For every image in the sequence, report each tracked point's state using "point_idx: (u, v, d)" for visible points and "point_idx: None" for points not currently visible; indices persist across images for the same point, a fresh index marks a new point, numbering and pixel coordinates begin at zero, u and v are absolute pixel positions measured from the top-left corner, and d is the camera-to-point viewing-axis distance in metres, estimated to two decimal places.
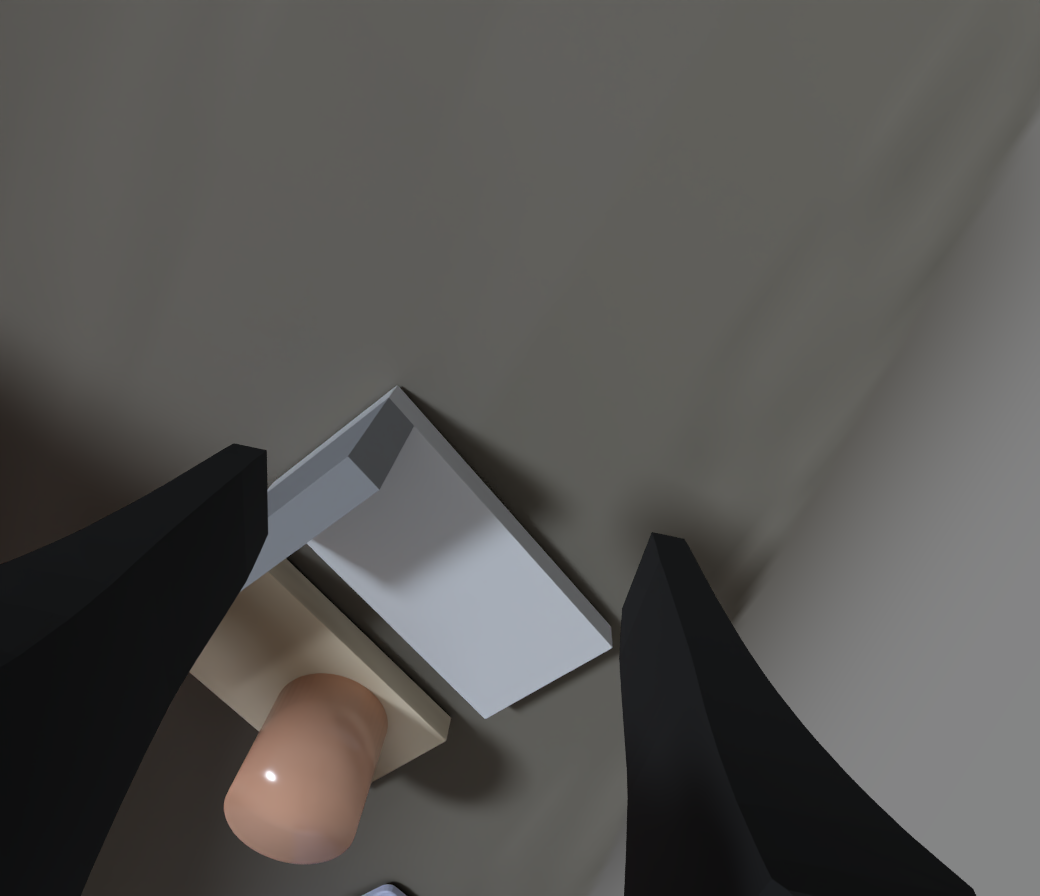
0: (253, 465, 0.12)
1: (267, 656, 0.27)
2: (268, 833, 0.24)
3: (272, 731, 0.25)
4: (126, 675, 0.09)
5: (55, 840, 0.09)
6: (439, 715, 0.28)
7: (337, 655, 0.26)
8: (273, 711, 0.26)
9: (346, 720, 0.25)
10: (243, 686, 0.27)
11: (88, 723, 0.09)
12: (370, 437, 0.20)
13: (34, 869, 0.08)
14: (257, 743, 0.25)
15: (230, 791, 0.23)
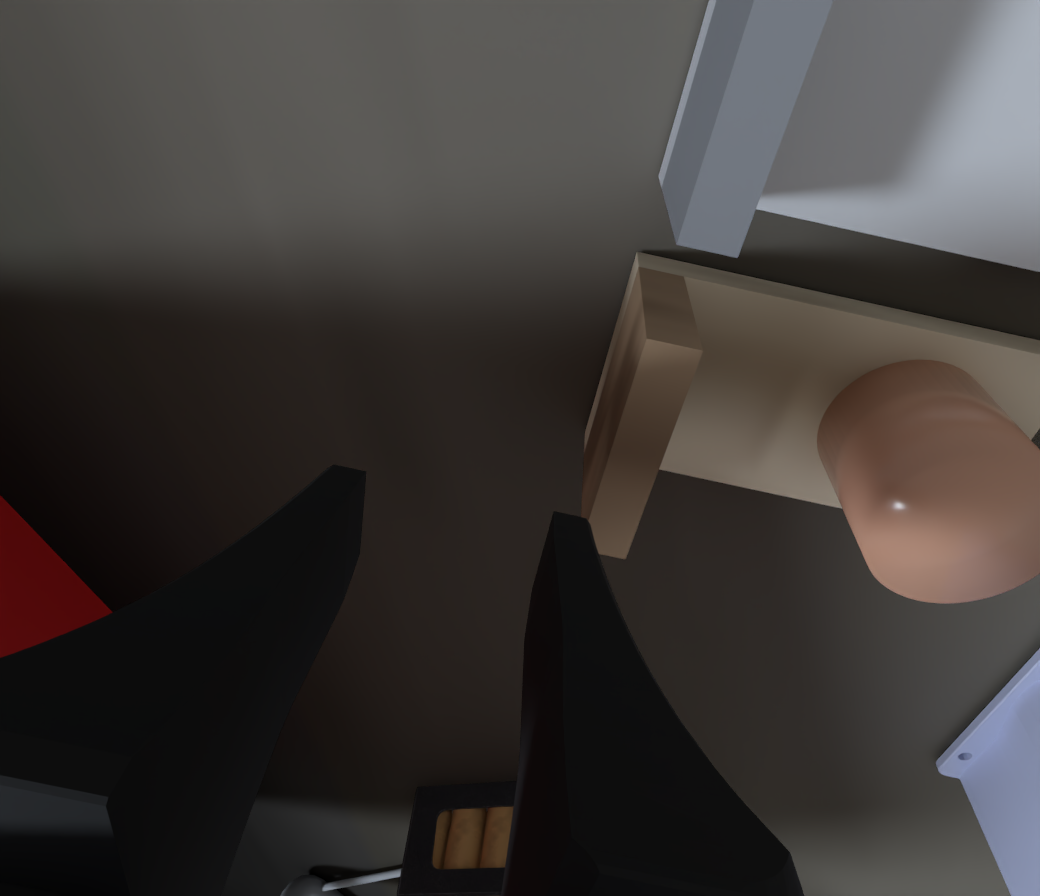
0: (357, 486, 0.12)
1: (778, 399, 0.20)
2: (943, 570, 0.17)
3: (860, 455, 0.18)
4: (258, 702, 0.09)
5: (202, 869, 0.09)
6: None
7: (867, 339, 0.19)
8: (834, 447, 0.19)
9: (945, 393, 0.17)
10: (769, 457, 0.21)
11: (232, 752, 0.09)
12: None
13: None
14: (851, 479, 0.18)
15: (866, 539, 0.17)
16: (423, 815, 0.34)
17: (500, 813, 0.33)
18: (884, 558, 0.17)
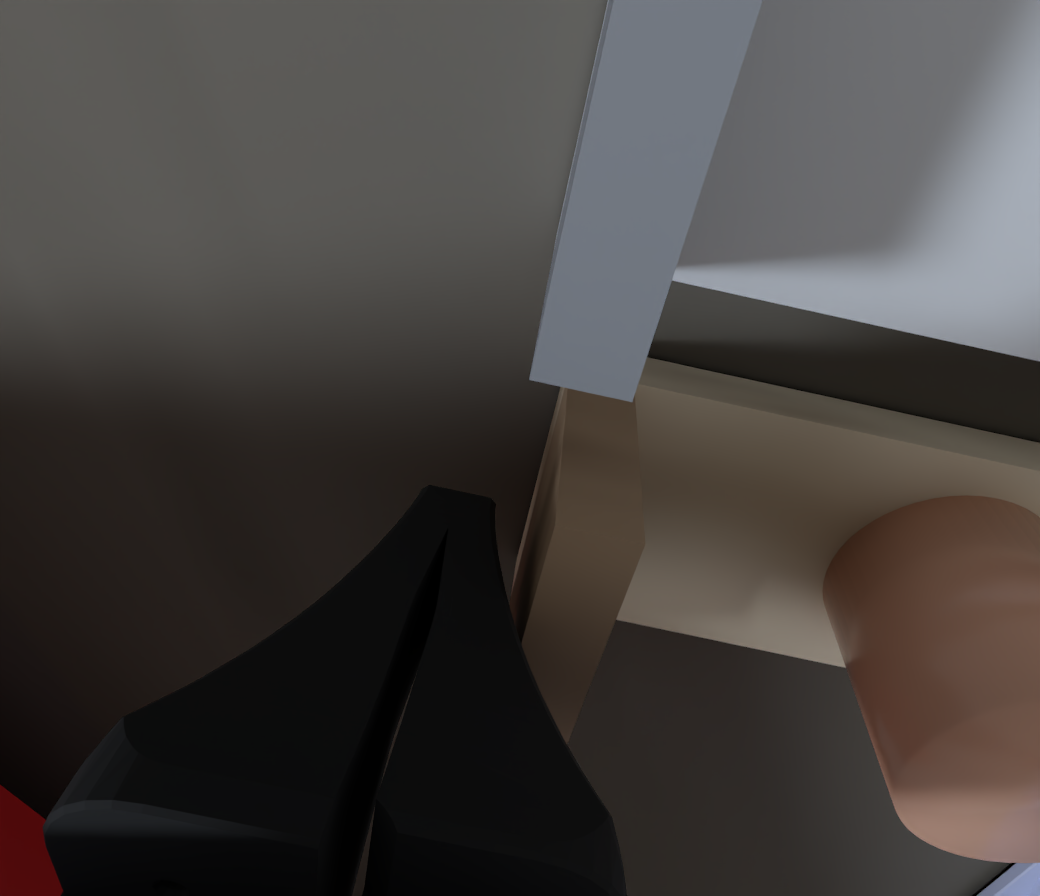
0: (457, 507, 0.12)
1: (770, 540, 0.14)
2: (1010, 827, 0.12)
3: (887, 648, 0.12)
4: (385, 728, 0.10)
5: None
6: None
7: (895, 468, 0.13)
8: (848, 617, 0.14)
9: (1012, 562, 0.12)
10: (758, 608, 0.16)
11: (369, 781, 0.09)
12: None
13: None
14: (874, 681, 0.12)
15: (898, 787, 0.11)
16: None
17: None
18: (924, 809, 0.12)
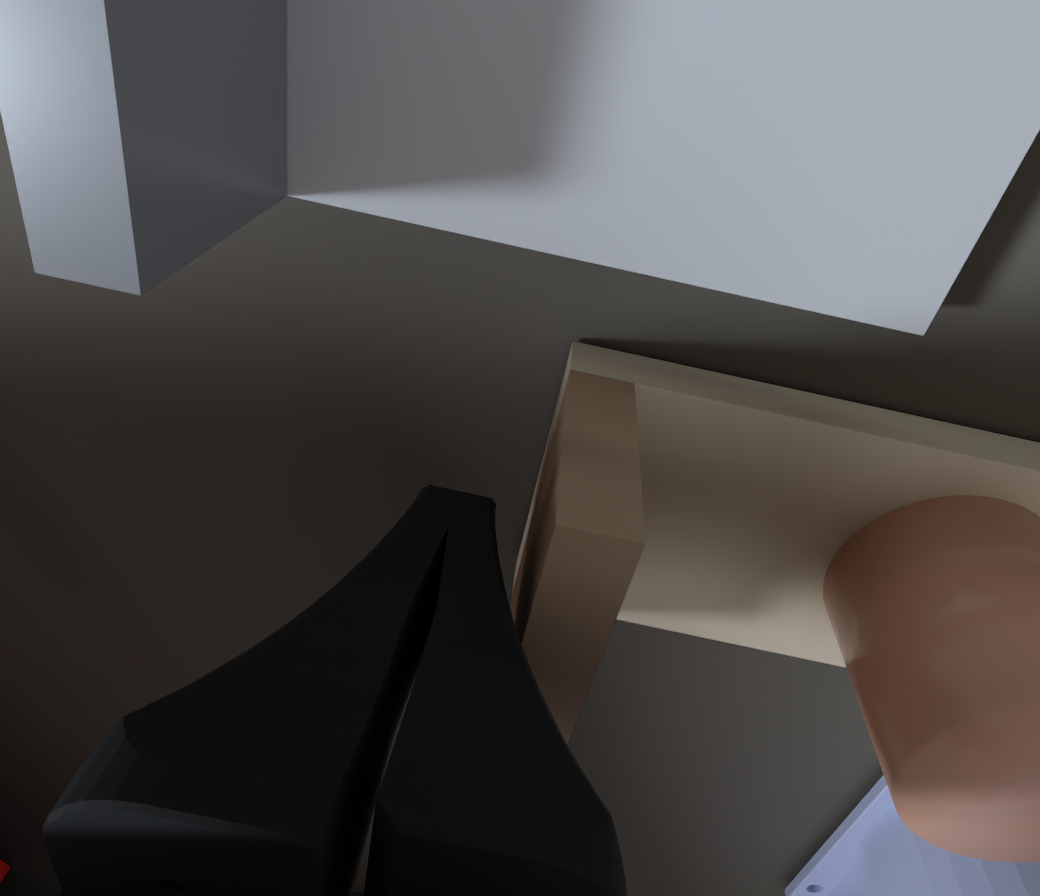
0: (457, 507, 0.12)
1: (770, 540, 0.14)
2: (1011, 826, 0.12)
3: (887, 648, 0.12)
4: (385, 728, 0.10)
5: None
6: None
7: (895, 468, 0.13)
8: (848, 617, 0.14)
9: (1012, 562, 0.12)
10: (758, 608, 0.16)
11: (369, 780, 0.09)
12: None
13: None
14: (874, 681, 0.12)
15: (898, 786, 0.11)
16: None
17: None
18: (924, 809, 0.12)
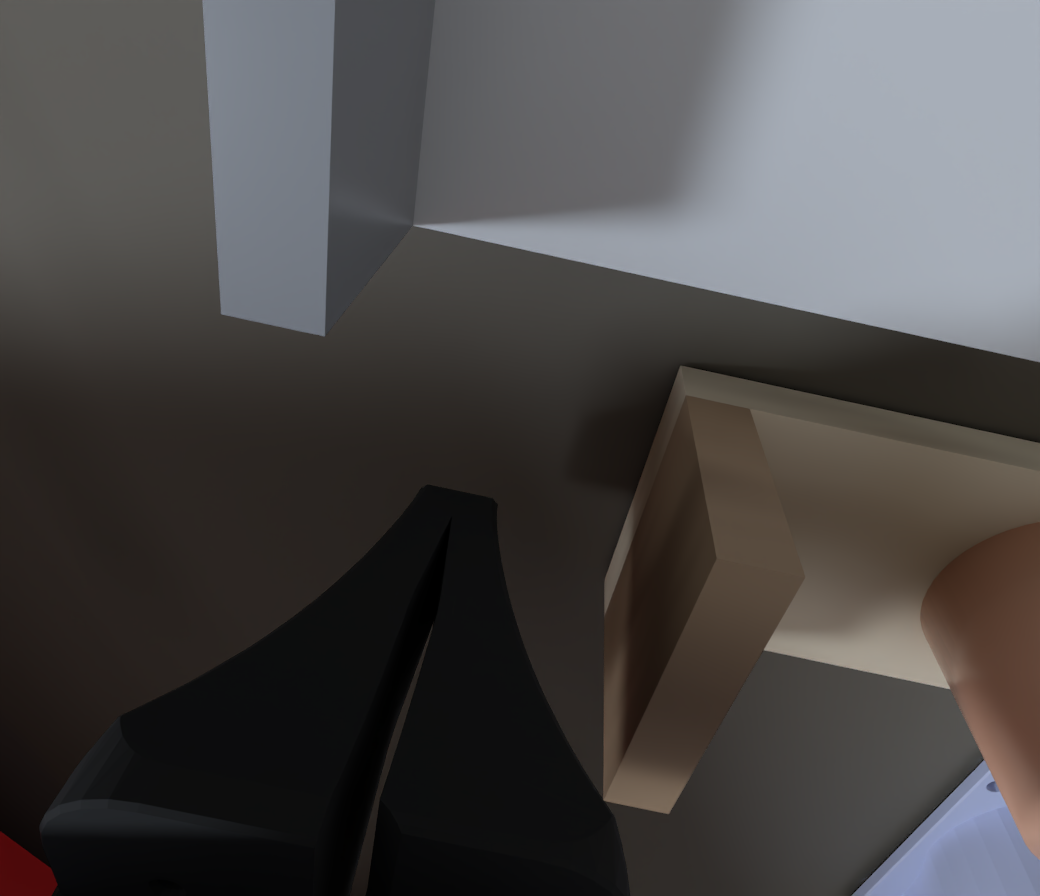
0: (455, 507, 0.12)
1: (872, 561, 0.15)
2: None
3: (1008, 672, 0.12)
4: (382, 727, 0.10)
5: None
6: None
7: (1005, 492, 0.13)
8: (957, 640, 0.14)
9: None
10: (853, 627, 0.16)
11: (366, 780, 0.09)
12: None
13: None
14: (994, 705, 0.12)
15: (1028, 812, 0.11)
16: None
17: None
18: None
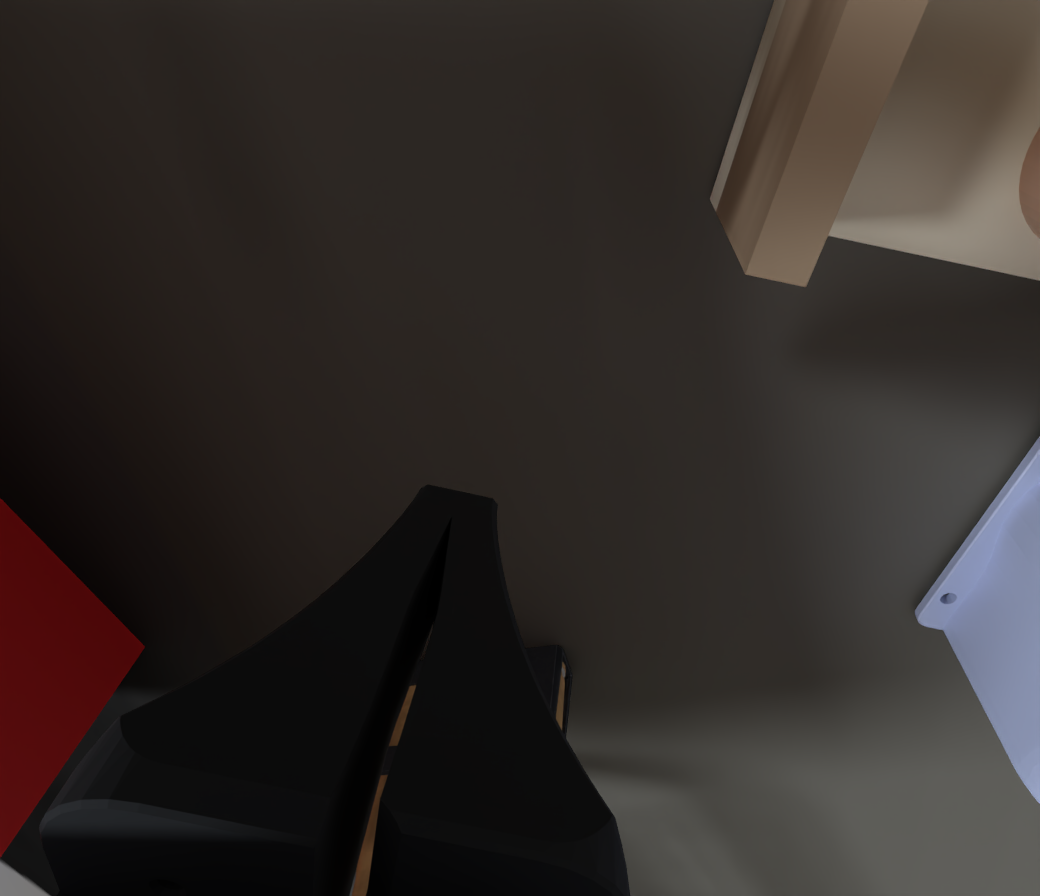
0: (455, 507, 0.12)
1: (978, 114, 0.16)
2: None
3: None
4: (382, 728, 0.10)
5: None
6: None
7: None
8: None
9: None
10: (954, 206, 0.17)
11: (366, 780, 0.09)
12: None
13: None
14: None
15: None
16: None
17: None
18: None
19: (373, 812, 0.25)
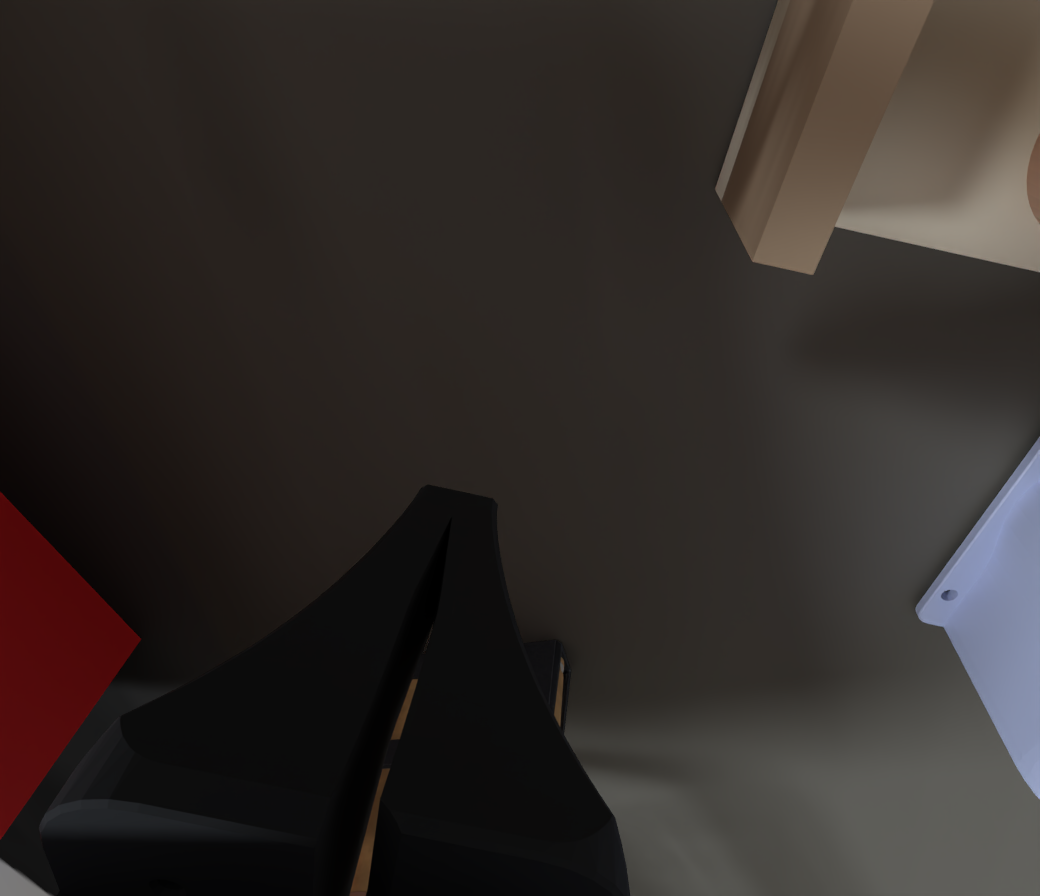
0: (455, 507, 0.12)
1: (987, 105, 0.15)
2: None
3: None
4: (382, 728, 0.10)
5: None
6: None
7: None
8: None
9: None
10: (961, 197, 0.17)
11: (366, 780, 0.09)
12: None
13: None
14: None
15: None
16: None
17: (412, 685, 0.28)
18: None
19: None
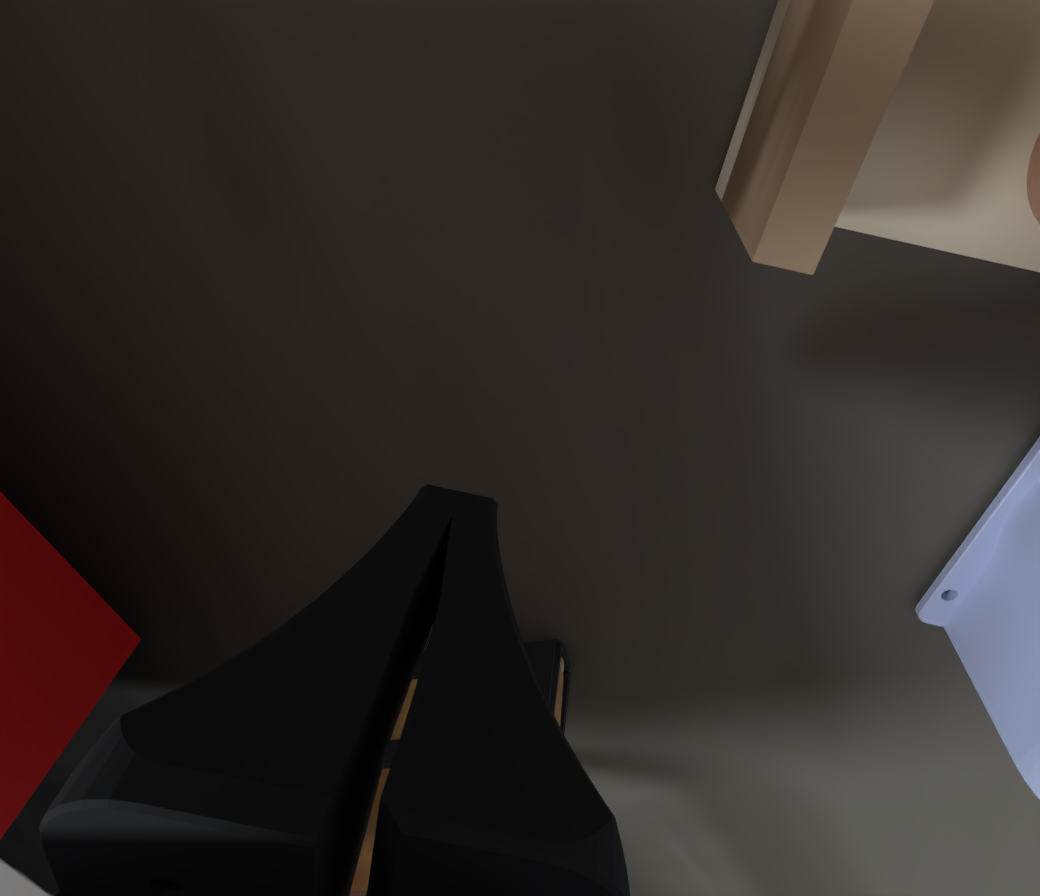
0: (455, 507, 0.12)
1: (987, 105, 0.15)
2: None
3: None
4: (382, 728, 0.10)
5: None
6: None
7: None
8: None
9: None
10: (961, 197, 0.17)
11: (366, 780, 0.09)
12: None
13: None
14: None
15: None
16: None
17: (412, 685, 0.28)
18: None
19: None
